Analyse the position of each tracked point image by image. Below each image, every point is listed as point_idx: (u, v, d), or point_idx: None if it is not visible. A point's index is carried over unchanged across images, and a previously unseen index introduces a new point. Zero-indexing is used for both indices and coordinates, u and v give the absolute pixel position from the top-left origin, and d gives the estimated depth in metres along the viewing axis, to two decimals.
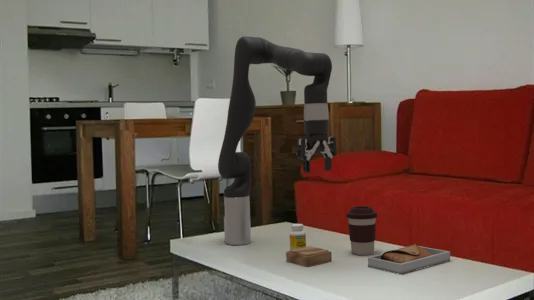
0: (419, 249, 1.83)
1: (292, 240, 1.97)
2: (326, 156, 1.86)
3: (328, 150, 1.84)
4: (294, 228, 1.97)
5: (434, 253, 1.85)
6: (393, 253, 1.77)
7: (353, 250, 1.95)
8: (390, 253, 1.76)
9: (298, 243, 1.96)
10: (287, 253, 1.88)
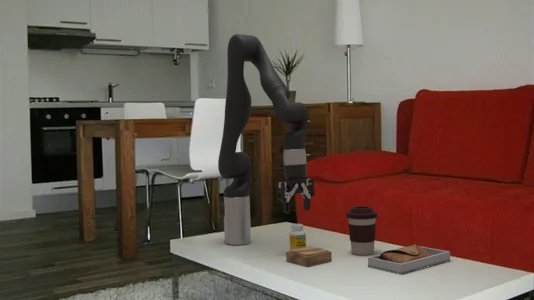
0: (419, 249, 1.83)
1: (292, 240, 1.97)
2: (305, 197, 2.01)
3: (306, 191, 1.99)
4: (294, 228, 1.97)
5: (434, 253, 1.85)
6: (392, 253, 1.77)
7: (353, 250, 1.95)
8: (389, 253, 1.77)
9: (298, 243, 1.96)
10: (287, 253, 1.88)
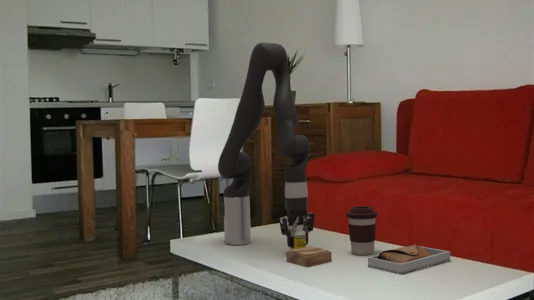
0: (419, 249, 1.83)
1: None
2: None
3: (306, 225, 1.99)
4: None
5: (434, 253, 1.85)
6: (391, 253, 1.77)
7: (353, 250, 1.95)
8: (388, 253, 1.77)
9: (298, 243, 1.96)
10: (287, 253, 1.88)
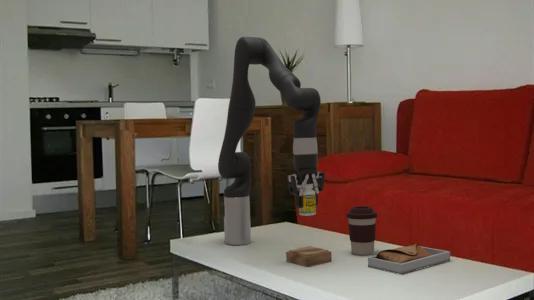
0: (419, 249, 1.83)
1: None
2: None
3: (315, 184, 1.86)
4: None
5: (434, 253, 1.85)
6: (389, 252, 1.78)
7: (353, 250, 1.95)
8: (386, 252, 1.78)
9: (308, 203, 1.84)
10: (287, 253, 1.88)
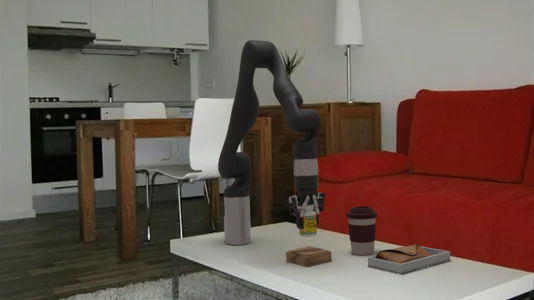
0: (418, 249, 1.83)
1: None
2: None
3: (316, 205, 1.87)
4: None
5: (434, 253, 1.85)
6: (389, 252, 1.78)
7: (353, 250, 1.95)
8: (385, 252, 1.78)
9: (309, 224, 1.84)
10: (287, 253, 1.88)
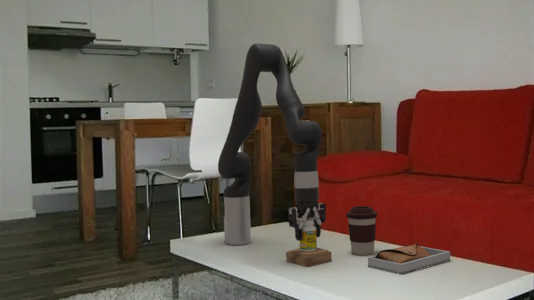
0: (418, 249, 1.83)
1: (302, 236, 1.85)
2: (315, 222, 1.89)
3: (317, 217, 1.87)
4: (304, 223, 1.85)
5: (434, 253, 1.85)
6: (388, 252, 1.78)
7: (353, 250, 1.95)
8: (385, 252, 1.78)
9: (309, 239, 1.84)
10: (287, 253, 1.88)
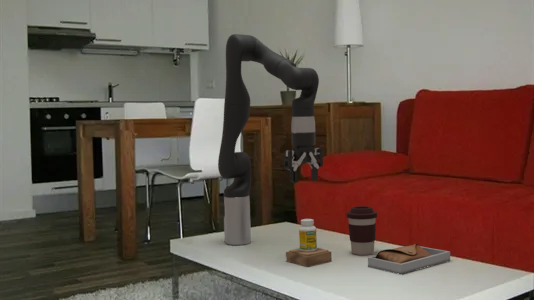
0: (418, 249, 1.83)
1: (302, 236, 1.85)
2: (313, 166, 1.94)
3: (314, 161, 1.92)
4: (304, 223, 1.85)
5: (434, 253, 1.85)
6: (388, 252, 1.78)
7: (353, 250, 1.95)
8: (385, 252, 1.78)
9: (309, 239, 1.84)
10: (287, 253, 1.88)
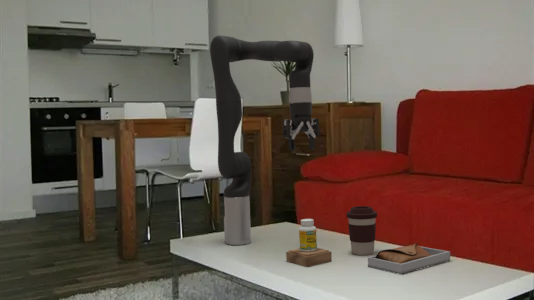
0: (418, 249, 1.83)
1: (302, 236, 1.85)
2: (310, 136, 2.03)
3: (311, 130, 2.01)
4: (304, 223, 1.85)
5: (434, 253, 1.85)
6: (388, 252, 1.78)
7: (353, 250, 1.95)
8: (385, 252, 1.78)
9: (309, 239, 1.84)
10: (287, 253, 1.88)
